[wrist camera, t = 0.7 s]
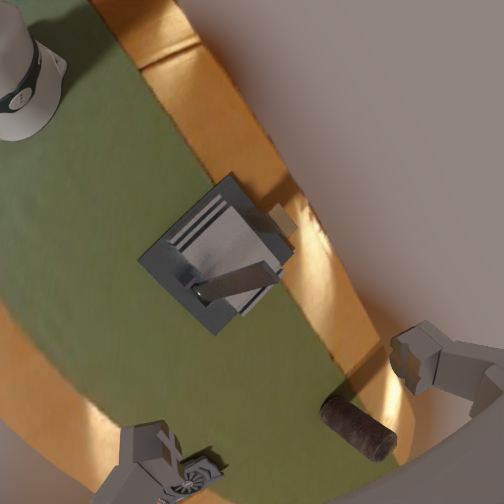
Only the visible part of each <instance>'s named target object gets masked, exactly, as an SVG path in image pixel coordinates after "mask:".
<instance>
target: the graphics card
mask: <svg viewBox="0 0 504 504" xmlns="http://www.w3.org/2000/svg"><path fill="white" fill-rule="evenodd" d="M182 465H183V467H184V471H185V479H186V483H182V484H177V485H172V486H167V487H163V488H164V489H163V491H162V493H161V495H160V498H159V499H160V500H158V502H159V503H161V504H163V503H164V504H175V503H177V502H179V501H181V500H183V499H185V498H187V497H189V496H191V495H193V494H195V493H197V492H199V491H201V490H203V489H204V488H206V487H208V486H210V485H212V484H213V483H215V482H217V481H219V480H221V479H222V478H224V476H225V475H224V473H223V472H219V470H218V468H217V466H216V464H215V463H213V462H211V461H209V460H208V459H207V457H206V456H201V457H199V458H197V459H195V460H193V459H192V460H190V461H188V462H186V463H184V464H182ZM208 470H209V471H210V474H209V471H208ZM196 486H197V487H196ZM172 487H173V488H172ZM192 488H193V489H192ZM160 501H161V502H160ZM162 502H163V503H162Z"/></svg>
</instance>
